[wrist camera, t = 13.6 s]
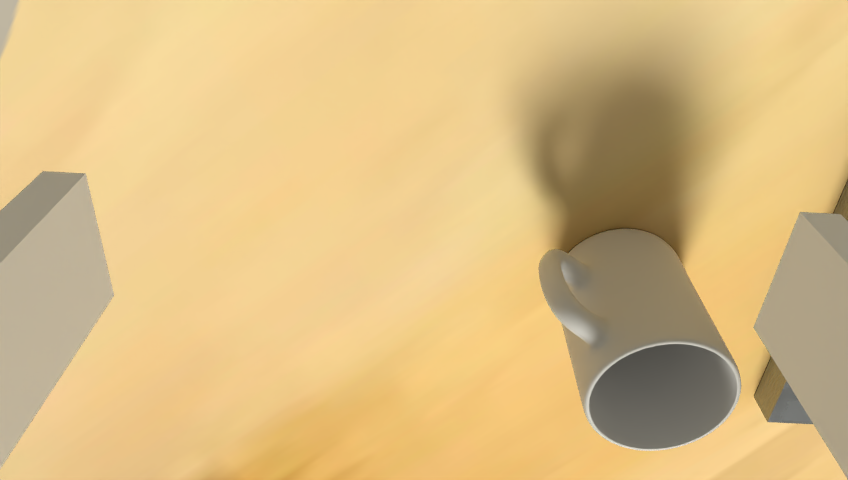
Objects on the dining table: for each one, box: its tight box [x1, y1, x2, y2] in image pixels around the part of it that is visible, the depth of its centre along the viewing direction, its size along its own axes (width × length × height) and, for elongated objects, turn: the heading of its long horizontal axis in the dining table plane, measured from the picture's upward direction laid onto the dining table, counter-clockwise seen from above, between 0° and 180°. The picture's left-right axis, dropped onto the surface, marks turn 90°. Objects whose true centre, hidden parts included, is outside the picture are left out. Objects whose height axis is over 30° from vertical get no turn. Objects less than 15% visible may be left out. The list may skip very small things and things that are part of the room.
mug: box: [539, 229, 741, 451], centre depth 41 cm, size 12×8×11 cm
